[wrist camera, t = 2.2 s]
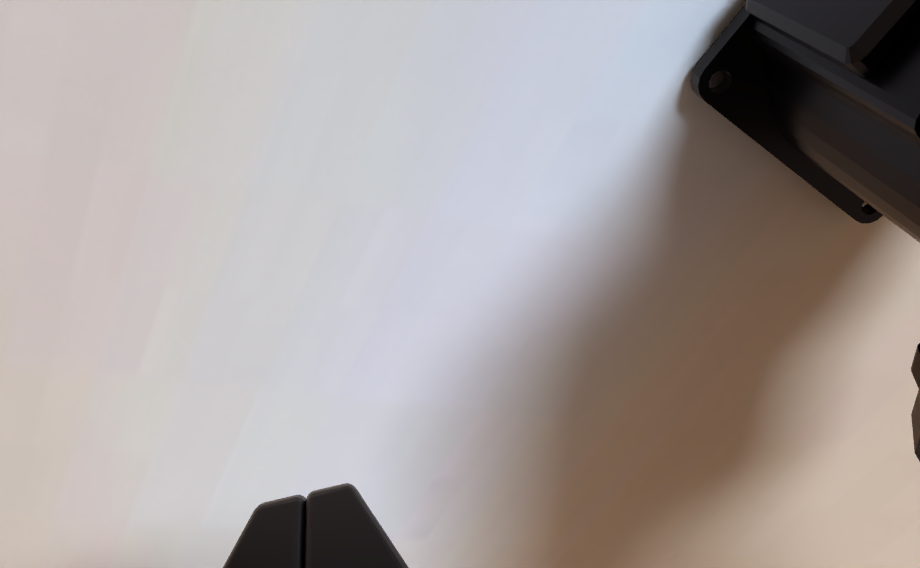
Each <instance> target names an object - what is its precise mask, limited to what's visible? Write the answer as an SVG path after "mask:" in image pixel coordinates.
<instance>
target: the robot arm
mask: <svg viewBox="0 0 920 568" xmlns="http://www.w3.org/2000/svg"><path fill="white" fill-rule="evenodd" d="M721 70H723V71H724V72H723V79H722V81H721V82H720V83H719V84H718V85H717V86H715V87H711V88H709V81H710V79H711V77H712V75H713V74H715V73H716V72H717V71H721ZM691 85H692V89H693V90H694V92H695V93H696V94H697V95H698V96H699V97H700V98H702V99H703V100H704V101H705V102H707V103H708V104H709V105H710V106H712V107H713V108H714V109H716V110H717V111H718V112H719V113H721V114H722V115H723V116H724V117H726V118H727V119H728V120H729V121H731V122H732V123H733V124H734V125H736V126H737V127H738V128H740V129H741V130H742V131H743V132H745V133H746V134H747V135H748V136H750V137H751V138H752V139H753V140H755V141H756V142H757V143H759V144H760V145H761V146H762V147H764V148H765V149H766V150H767V151H769V152H770V153H771V154H772V155H774V156H775V157H776V158H777V159H779V160H780V161H781V162H783V163H784V164H785V165H786V166H788V167H789V168H790V169H791V170H793V171H794V172H795V173H796V174H798V175H799V176H800V177H802V178H803V179H804V180H805V181H807V182H808V183H809V184H810V185H812V186H813V187H814V188H815V189H817V190H818V191H819V192H821V193H822V194H823V195H824V196H826V197H827V198H828V199H829V200H831V201H832V202H833V203H834V204H836V205H837V206H838V207H839V208H841V209H842V210H843V211H845V212H846V213H847V214H848V215H850V216H851V217H852V218H853V219H855V220H856V221H858V222H860V223H871V222H874V221H876V220H878V219H879V218H880V217H882V216H883V215H884V216H885V217H886V218H888V219H889V220H890V221H892V222H893V223H894V224H896V225H897V226H898V227H900V228H901V229H902V230H904V231H905V232H906V233H908V234H909V235H910V236H912V237H913V238H914V239H916V240H917V241H918V242H920V0H746V4H745V6H744V7H743V8H742V9H741V11H740V12H739V13H738V14H737V15H736V17H735V18H734V19H733V20H732V22H731V23H730V24H729V25H728V26H727V28H726V29H725V30H724V31H723V33H722V34H721V35H720V36H719V37H718V39H717V40H716V41H715V42H714V43H713V45H712V46H711V47H710V48H709V50H708V51H707V52H706V53H705V54H704V56H703V57H702V58H701V59H700V61H699V62H698V63H697V64H696V66H695V68H694V70H693V71H692V76H691ZM864 201H865V202H866V203H868V204H867V205H865V206H864V207H862V204H863V203H864ZM911 372H912V374H913V376H914V379H915V381H916V383H917V386H918V388H919V391H918V394H917V397H916V401H915V404H914V407H913V411H912V414H911V416H912V427H913V438H914V449H915V454H916V456H917V458H918V459H919V461H920V343H919V344H918V346H917V349H916V353H915V356H914V360H913V363H912V366H911ZM223 568H408V566H407V565H406V563H405V562H404V560H403V559H402V557H401V556H400V554H399V553H398V551H397V550H396V548H395V546H394V545H393V543H392V542H391V540H390V539H389V537H388V536H387V534H386V533H385V531H384V530H383V528H382V527H381V525H380V524H379V522H378V521H377V519H376V518H375V516H374V515H373V513H372V512H371V510H370V509H369V507H368V506H367V504H366V503H365V501H364V500H363V498H362V496H361V495H360V493H359V492H358V490H357V489H356V488H355V487H354V486H353V485H352V484H349V483H346V484H341V485H337V486H332V487H328V488H324V489H320V490H315V491H312V492H311V493H310V494H309V495H308V496H307V499H306V498H305V497H304V496H301V495H294V496H290V497H286V498H282V499H277V500H273V501H269V502H265V503H262V504H260V505H259V506H258V507H257V508H256V509H255V510H254V512H253V514H252V516H251V517H250V519H249V521H248V523H247V525H246V526H245V528H244V530H243V532H242V534H241V536H240V537H239V539H238V541H237V543H236V545H235V547H234V548H233V550H232V552H231V554H230V556H229V557H228V559H227V561H226V563H225V565H224V567H223Z"/></svg>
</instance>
